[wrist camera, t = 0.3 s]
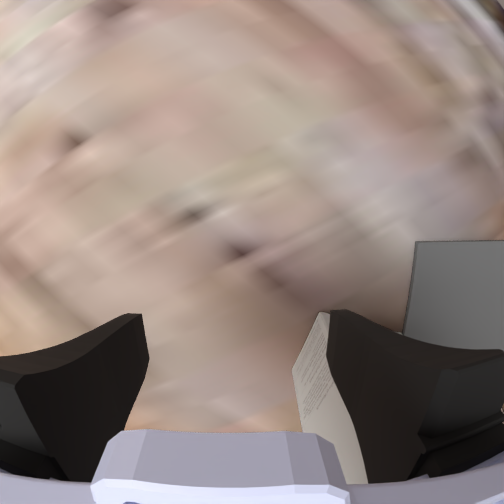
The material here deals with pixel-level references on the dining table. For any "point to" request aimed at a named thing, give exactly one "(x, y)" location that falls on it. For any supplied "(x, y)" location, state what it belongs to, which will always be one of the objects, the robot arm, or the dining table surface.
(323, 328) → the skincare box
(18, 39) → the dining table surface
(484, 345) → the mat
